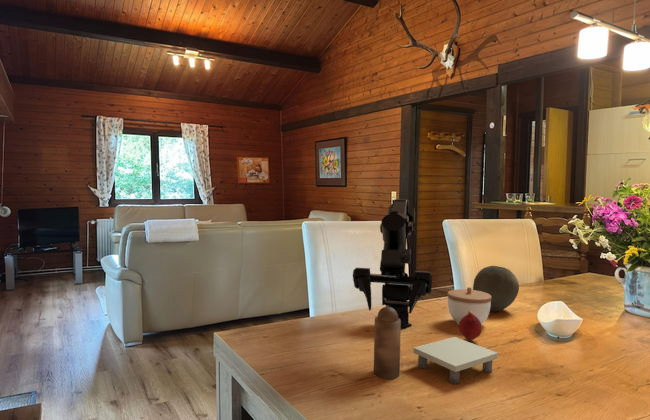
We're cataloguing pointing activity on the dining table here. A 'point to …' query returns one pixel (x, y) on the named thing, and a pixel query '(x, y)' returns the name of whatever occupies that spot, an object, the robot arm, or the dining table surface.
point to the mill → (387, 344)
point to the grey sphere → (497, 286)
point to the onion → (470, 326)
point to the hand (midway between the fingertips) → (389, 311)
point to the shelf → (455, 356)
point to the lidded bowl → (468, 304)
